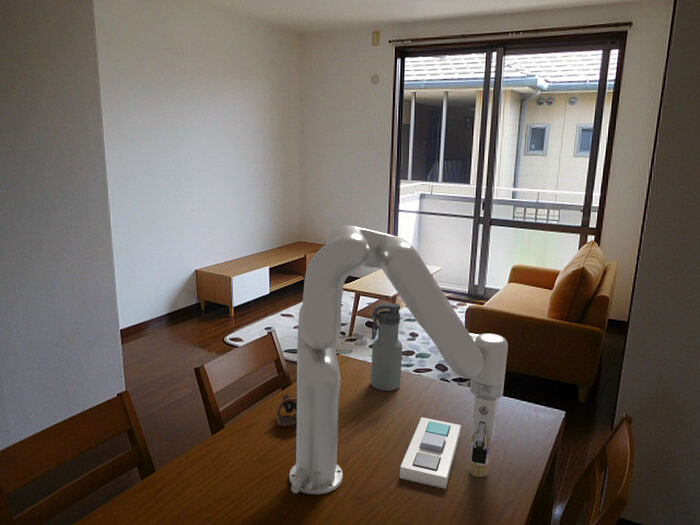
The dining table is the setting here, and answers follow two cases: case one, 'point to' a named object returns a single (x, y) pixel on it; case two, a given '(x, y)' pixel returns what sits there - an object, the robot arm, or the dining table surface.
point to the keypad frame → (446, 457)
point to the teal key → (438, 428)
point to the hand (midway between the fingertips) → (480, 452)
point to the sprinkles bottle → (479, 468)
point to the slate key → (433, 442)
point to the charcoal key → (427, 461)
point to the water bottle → (386, 348)
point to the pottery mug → (289, 407)
